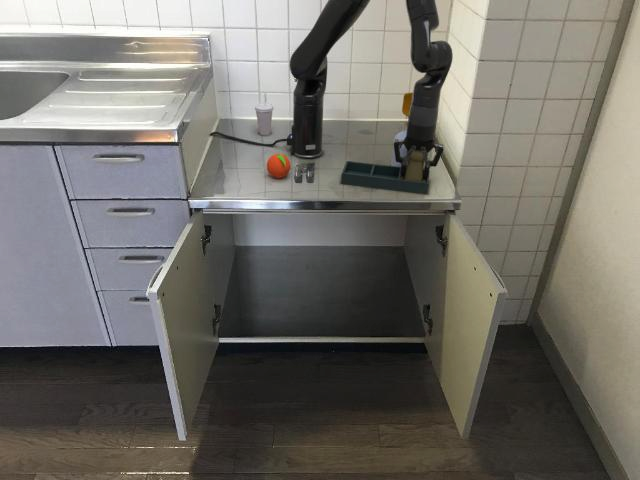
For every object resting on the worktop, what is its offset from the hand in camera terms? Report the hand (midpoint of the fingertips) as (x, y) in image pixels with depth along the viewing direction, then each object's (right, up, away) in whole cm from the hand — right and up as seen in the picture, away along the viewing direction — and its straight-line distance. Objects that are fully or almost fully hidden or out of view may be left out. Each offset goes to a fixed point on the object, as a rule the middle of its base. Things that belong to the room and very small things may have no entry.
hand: (413, 176), depth 144 cm
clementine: (-39, 0, +4) cm, 39 cm away
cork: (0, -2, +1) cm, 2 cm away
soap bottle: (-1, +3, +10) cm, 10 cm away
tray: (-8, -1, +3) cm, 9 cm away
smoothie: (-46, +19, +31) cm, 59 cm away
